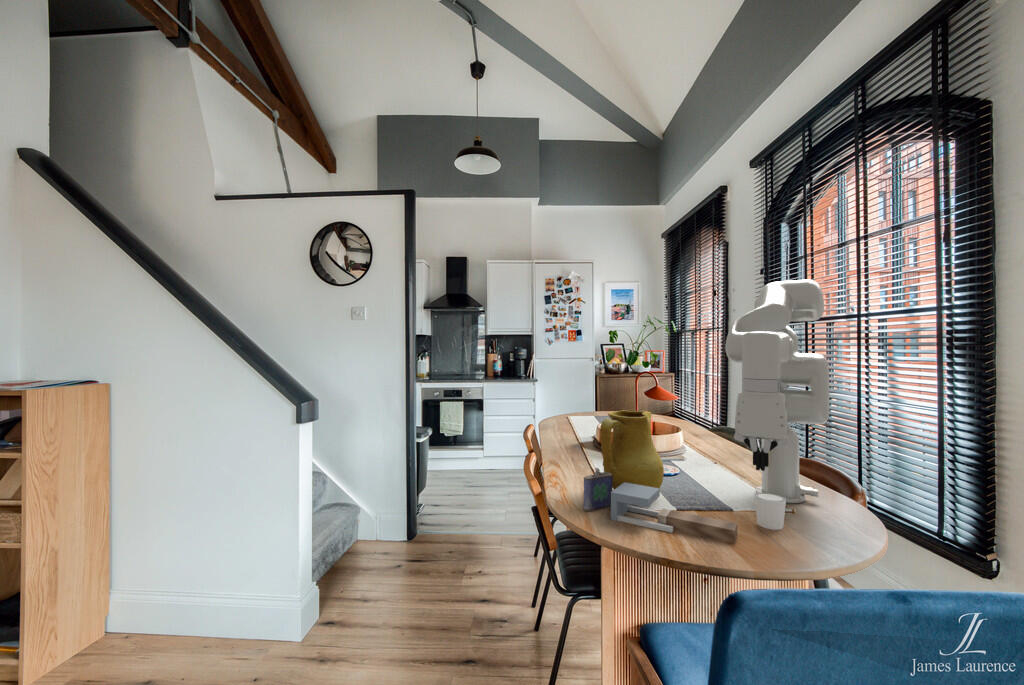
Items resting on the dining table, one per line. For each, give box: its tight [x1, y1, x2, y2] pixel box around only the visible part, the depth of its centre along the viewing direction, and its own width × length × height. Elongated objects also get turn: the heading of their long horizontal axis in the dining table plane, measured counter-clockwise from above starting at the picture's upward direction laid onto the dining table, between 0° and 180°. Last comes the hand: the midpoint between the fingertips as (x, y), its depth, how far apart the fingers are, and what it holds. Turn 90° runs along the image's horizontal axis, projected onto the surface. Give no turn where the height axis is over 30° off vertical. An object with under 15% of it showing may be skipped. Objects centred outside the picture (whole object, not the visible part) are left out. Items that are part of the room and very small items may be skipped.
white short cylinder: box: [754, 493, 787, 531], centre depth 111 cm, size 7×7×7 cm
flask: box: [583, 467, 613, 513], centre depth 122 cm, size 9×3×11 cm, turn 117°
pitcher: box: [599, 409, 665, 491], centre depth 132 cm, size 17×19×25 cm
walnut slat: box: [657, 508, 738, 544], centre depth 107 cm, size 17×5×3 cm, turn 57°
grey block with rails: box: [610, 482, 674, 534], centre depth 114 cm, size 15×10×7 cm, turn 57°
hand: (760, 469), depth 100 cm, fingers closed
